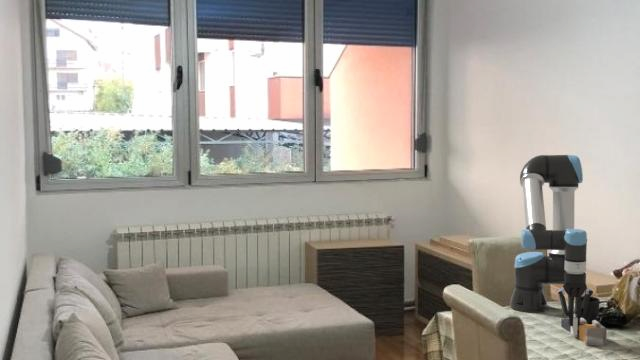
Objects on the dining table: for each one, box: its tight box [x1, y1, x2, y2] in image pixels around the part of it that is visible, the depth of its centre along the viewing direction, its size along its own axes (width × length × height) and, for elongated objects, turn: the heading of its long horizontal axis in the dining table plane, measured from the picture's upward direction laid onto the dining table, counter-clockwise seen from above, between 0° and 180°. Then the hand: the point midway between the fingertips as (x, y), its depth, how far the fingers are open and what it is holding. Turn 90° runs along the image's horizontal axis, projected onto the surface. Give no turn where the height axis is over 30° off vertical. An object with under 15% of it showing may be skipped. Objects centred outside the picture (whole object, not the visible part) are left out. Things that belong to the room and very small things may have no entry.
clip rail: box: [566, 313, 608, 346], centre depth 260 cm, size 22×7×6 cm, turn 179°
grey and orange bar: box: [560, 318, 597, 343], centre depth 262 cm, size 19×5×5 cm, turn 7°
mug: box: [581, 295, 611, 325], centre depth 275 cm, size 8×12×10 cm
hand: (573, 334), depth 259 cm, fingers closed
